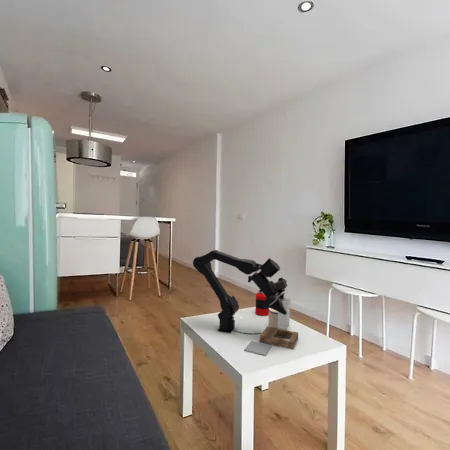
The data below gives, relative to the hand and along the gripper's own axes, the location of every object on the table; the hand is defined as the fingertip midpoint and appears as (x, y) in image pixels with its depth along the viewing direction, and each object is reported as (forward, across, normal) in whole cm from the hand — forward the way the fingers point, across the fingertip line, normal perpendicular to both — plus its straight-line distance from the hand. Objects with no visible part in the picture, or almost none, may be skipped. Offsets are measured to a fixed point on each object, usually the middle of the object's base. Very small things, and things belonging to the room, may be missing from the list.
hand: (287, 312), depth 125 cm
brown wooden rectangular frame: (+7, 0, +12) cm, 14 cm away
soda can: (-5, +29, +24) cm, 38 cm away
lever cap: (+4, 0, +6) cm, 7 cm away
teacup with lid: (+4, +15, +15) cm, 22 cm away
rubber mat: (+3, -12, +16) cm, 20 cm away
